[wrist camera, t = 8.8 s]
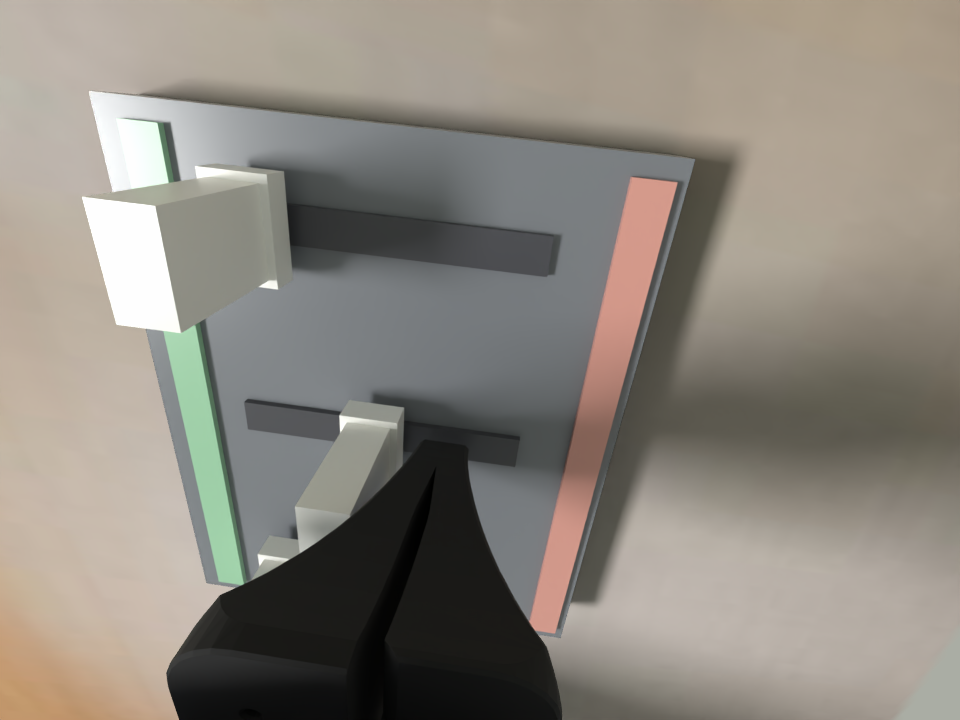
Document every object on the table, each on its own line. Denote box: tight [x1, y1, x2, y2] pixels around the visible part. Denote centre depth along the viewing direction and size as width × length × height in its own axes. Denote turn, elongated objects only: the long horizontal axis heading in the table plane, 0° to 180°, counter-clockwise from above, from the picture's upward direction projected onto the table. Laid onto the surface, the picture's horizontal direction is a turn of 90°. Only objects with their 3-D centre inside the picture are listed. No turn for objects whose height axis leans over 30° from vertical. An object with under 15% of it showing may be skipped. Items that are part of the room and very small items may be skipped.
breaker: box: [82, 163, 293, 333], centre depth 10 cm, size 3×2×4 cm, turn 174°
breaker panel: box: [89, 91, 695, 638], centre depth 15 cm, size 17×14×2 cm
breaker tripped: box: [295, 400, 404, 553], centre depth 12 cm, size 3×2×4 cm, turn 175°
